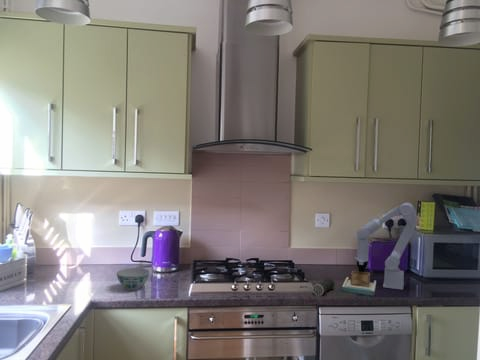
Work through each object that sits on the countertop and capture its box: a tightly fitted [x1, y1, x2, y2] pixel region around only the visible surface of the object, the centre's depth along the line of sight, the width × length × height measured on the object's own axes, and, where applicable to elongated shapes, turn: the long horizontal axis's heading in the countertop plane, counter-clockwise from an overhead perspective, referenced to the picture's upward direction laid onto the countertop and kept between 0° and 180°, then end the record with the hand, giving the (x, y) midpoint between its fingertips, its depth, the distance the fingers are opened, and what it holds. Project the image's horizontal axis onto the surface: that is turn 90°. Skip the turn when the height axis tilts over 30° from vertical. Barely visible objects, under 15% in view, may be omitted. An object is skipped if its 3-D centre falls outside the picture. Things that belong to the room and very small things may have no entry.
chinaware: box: [116, 267, 150, 291], centre depth 184 cm, size 15×15×8 cm
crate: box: [350, 270, 371, 287], centre depth 200 cm, size 9×7×6 cm
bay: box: [341, 276, 377, 296], centre depth 196 cm, size 15×20×2 cm
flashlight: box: [312, 278, 335, 297], centre depth 188 cm, size 15×5×5 cm, turn 145°
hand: (361, 275), depth 207 cm, fingers closed
